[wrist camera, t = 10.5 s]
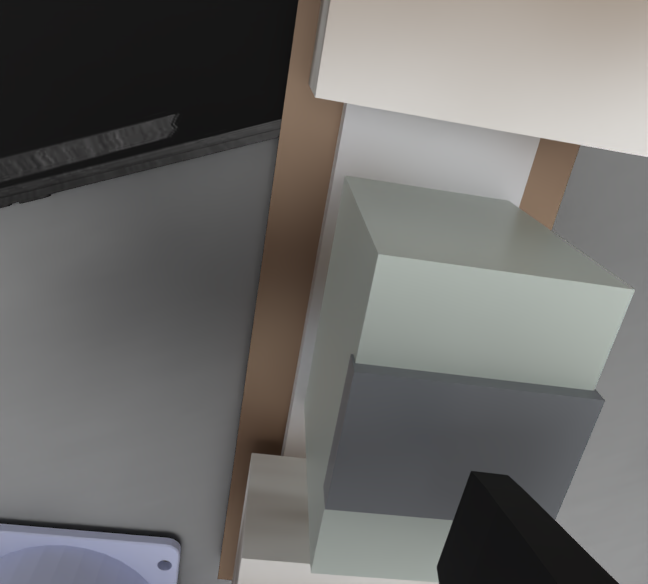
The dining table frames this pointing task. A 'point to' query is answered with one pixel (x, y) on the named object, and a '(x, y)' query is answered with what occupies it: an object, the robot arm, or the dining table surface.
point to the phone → (134, 86)
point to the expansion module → (445, 370)
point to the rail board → (409, 169)
